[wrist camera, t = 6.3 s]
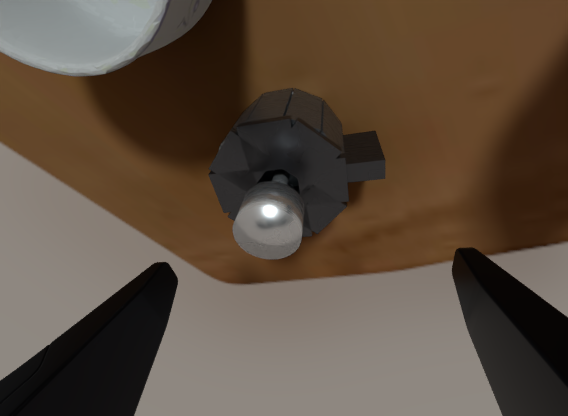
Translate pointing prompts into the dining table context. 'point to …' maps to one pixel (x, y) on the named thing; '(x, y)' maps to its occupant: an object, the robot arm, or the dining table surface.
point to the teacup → (92, 31)
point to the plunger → (271, 217)
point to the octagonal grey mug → (295, 155)
